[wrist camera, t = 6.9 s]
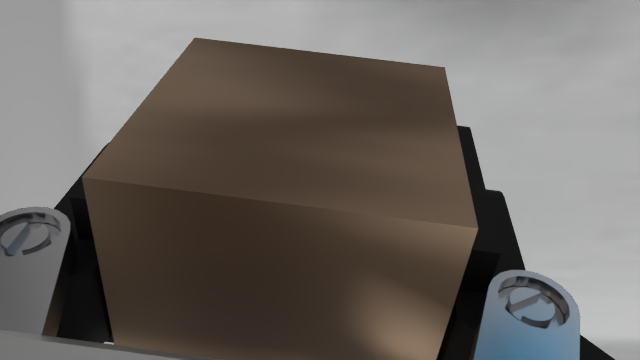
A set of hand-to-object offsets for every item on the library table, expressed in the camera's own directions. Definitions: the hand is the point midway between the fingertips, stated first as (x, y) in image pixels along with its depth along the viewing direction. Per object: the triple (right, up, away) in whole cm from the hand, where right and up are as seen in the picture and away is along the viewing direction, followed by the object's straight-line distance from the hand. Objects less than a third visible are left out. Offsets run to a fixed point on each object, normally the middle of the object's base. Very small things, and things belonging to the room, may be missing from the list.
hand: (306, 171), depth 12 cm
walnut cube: (0, 0, 0) cm, 1 cm away
